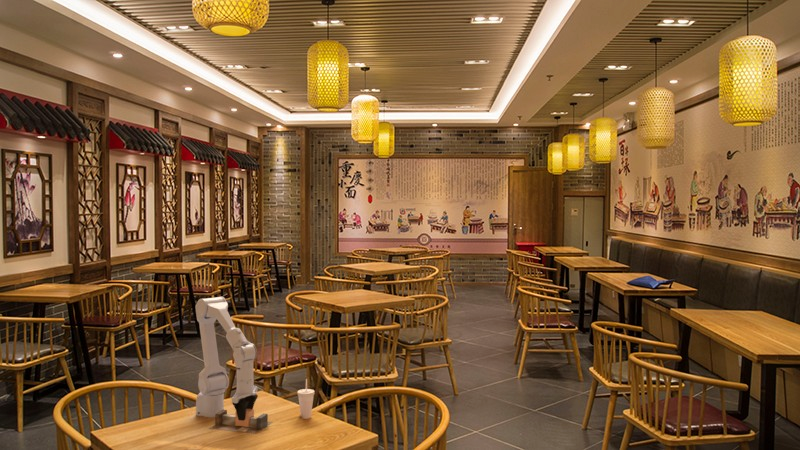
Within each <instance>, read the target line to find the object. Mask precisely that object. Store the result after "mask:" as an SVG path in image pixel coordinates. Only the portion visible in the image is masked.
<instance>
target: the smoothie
mask: <svg viewBox="0 0 800 450" xmlns="http://www.w3.org/2000/svg"><path fill="white" fill-rule="evenodd" d="M296 395H297V396H298V402H299V403H298V405H299V413H300V418H301V419H303V420H308V419H311V418H312V410H313V403H314V398H315V397H314V396H315V390H314V389H311V388H308V379H307V378H306V379H305V388H302V389H299V390H297V394H296Z"/></svg>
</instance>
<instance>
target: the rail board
mask: <svg viewBox="0 0 800 450" xmlns="http://www.w3.org/2000/svg"><path fill="white" fill-rule="evenodd" d="M214 423H215V424H213V426H211V427H209V428H208V429H209V430H218V431H219V430H220V431H227V432H235V433H237V432H238V433H246V434H248V433H249V434H255V435H256V434H258V433H260V432H261V431H262V430H264V429H266V428H267V427H268V426H269V425H271V424H272V423H273V421H269V420H268V413H262V414H260V415H258V417H257V416H254V417H250V424H249V427H243V426H235V414H234V415H233V414H228V410H227V409H224V410H221V411H219V412H218V413H216V414H215V417H214Z"/></svg>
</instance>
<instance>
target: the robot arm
mask: <svg viewBox="0 0 800 450" xmlns="http://www.w3.org/2000/svg"><path fill="white" fill-rule="evenodd" d="M194 308H195V314H196V315H195V316H196V320H197V322H198V324H199V333H200V341H201V347H202V356H203V364H204V367H203V369H202V370H201V371H200V372H199V373H198V383H197V384H198V385H197V386H198V390H199V393H198V394H197V396H196V399H195V416H198V417H199V416H200V417H203V418H204V417H206V418H215V414H216V413H218V412H219V411H221V410H225V409H224V405H225V404H224V403H225V400H224V398H225V392H226V391H227V390H226V389H228V387H229V385H230V379H229V376H228V375H227V369H226V368H225V367H223V366H221V365H220V360H219V353H218V346H217V345H218V344H217V338H216V337H217V336H216V328H215V323H216V321H218V323H219V325H221V327H222V329H223V330H224V331H225V333H226V335H225V339H226V340H227V342H228V344H229V345H230V347H231V348H232V351H233V353H232V357H233V359H234V366H235V368H236V391H235V393H234V395H233V396H232V397H231V404H232V405H233V408H234V410H235V412H237V416H238V420H245V415H246V409H254V406H255V403H256V401H257V399H258V394H257V393H258V386H256V385H254V360H255V359H257V357H258V350H257V347H256V345H255V344H254V343H251V341H249V340H248V339H247V338H246V336H245V334H244V333H243V331H242V330H241V328H239V327H236V326H235V324H234V321H233V319H232V318H231V316H230V313H229V311H228V310H229V309H228V308H229V304H228V302H227V300H226V298H225V297H224V296H217V297H216V296H215V297H209V298H199V299H198V301H197V302H196V304H195V307H194Z"/></svg>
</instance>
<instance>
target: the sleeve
mask: <svg viewBox="0 0 800 450" xmlns="http://www.w3.org/2000/svg"><path fill="white" fill-rule="evenodd" d="M234 415H235V426H243V427H249V424H250V417H255V409H254V408H253V409H246V415H245V420H238V416H237V412H236V411H235V414H234Z"/></svg>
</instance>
